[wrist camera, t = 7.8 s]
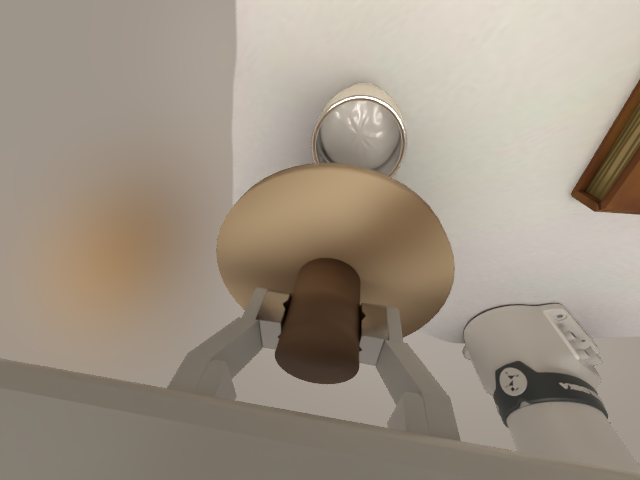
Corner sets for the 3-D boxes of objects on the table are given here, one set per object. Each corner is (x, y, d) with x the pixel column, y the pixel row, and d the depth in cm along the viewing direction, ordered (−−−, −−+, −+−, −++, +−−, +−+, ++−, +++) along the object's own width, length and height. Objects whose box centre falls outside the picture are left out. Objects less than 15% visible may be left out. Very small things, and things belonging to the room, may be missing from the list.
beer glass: (366, 154, 33) (365, 211, 21) (320, 120, 31) (290, 159, 19) (405, 103, 29) (433, 135, 17) (356, 62, 28) (347, 64, 15)
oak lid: (508, 249, 11) (585, 357, 7) (359, 357, 17) (358, 445, 13) (273, 103, 9) (203, 142, 5) (201, 285, 15) (146, 365, 11)
